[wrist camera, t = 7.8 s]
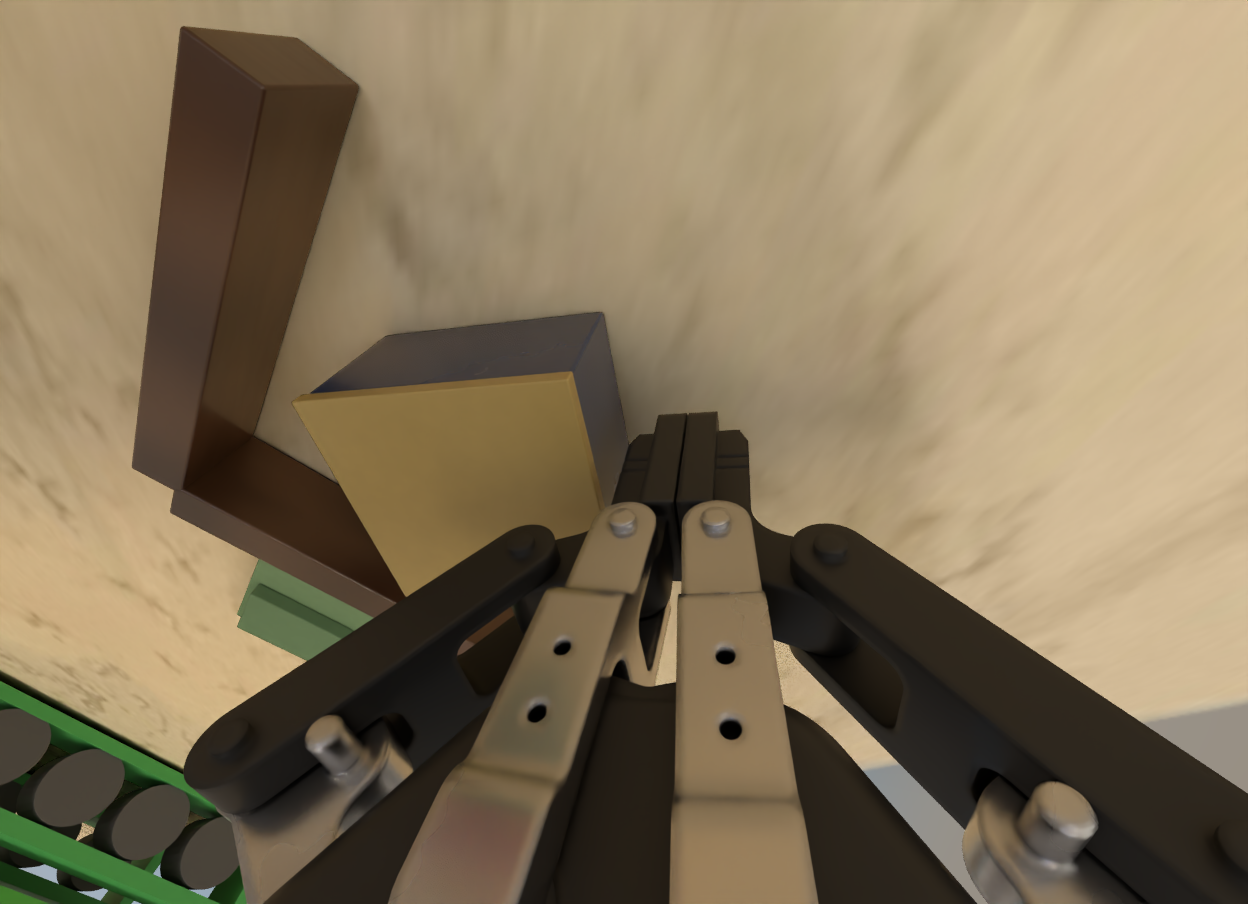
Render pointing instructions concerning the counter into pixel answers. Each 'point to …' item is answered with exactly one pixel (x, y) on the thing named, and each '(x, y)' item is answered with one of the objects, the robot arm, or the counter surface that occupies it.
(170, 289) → the corner guide
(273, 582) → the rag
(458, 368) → the tea tin
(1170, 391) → the counter surface
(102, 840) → the tank
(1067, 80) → the counter surface
